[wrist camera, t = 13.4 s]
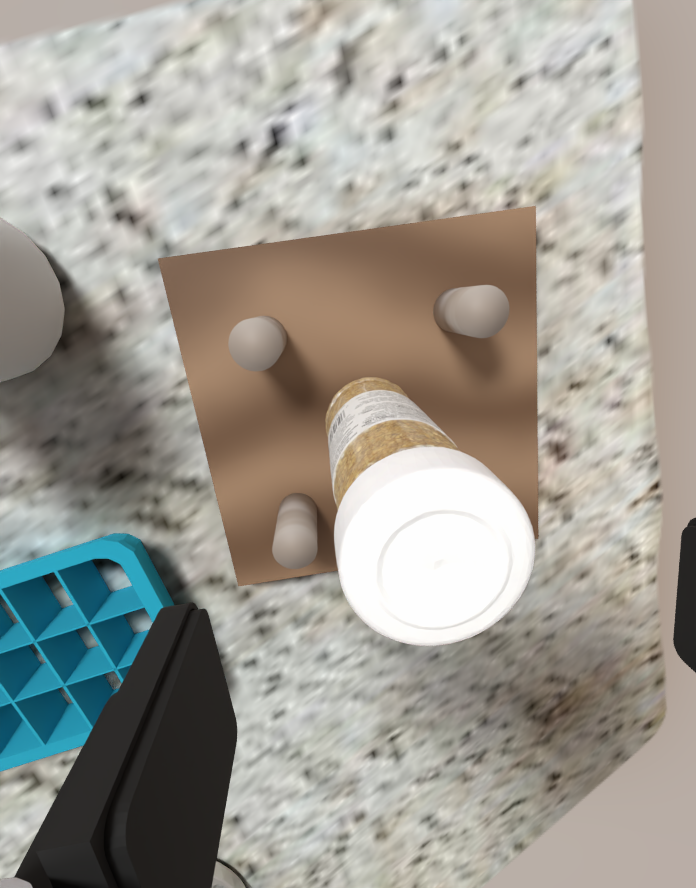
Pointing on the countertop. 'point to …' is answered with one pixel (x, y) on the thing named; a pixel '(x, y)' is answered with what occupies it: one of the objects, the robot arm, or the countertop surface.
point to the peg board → (353, 364)
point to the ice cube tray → (68, 644)
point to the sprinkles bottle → (420, 522)
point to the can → (26, 304)
